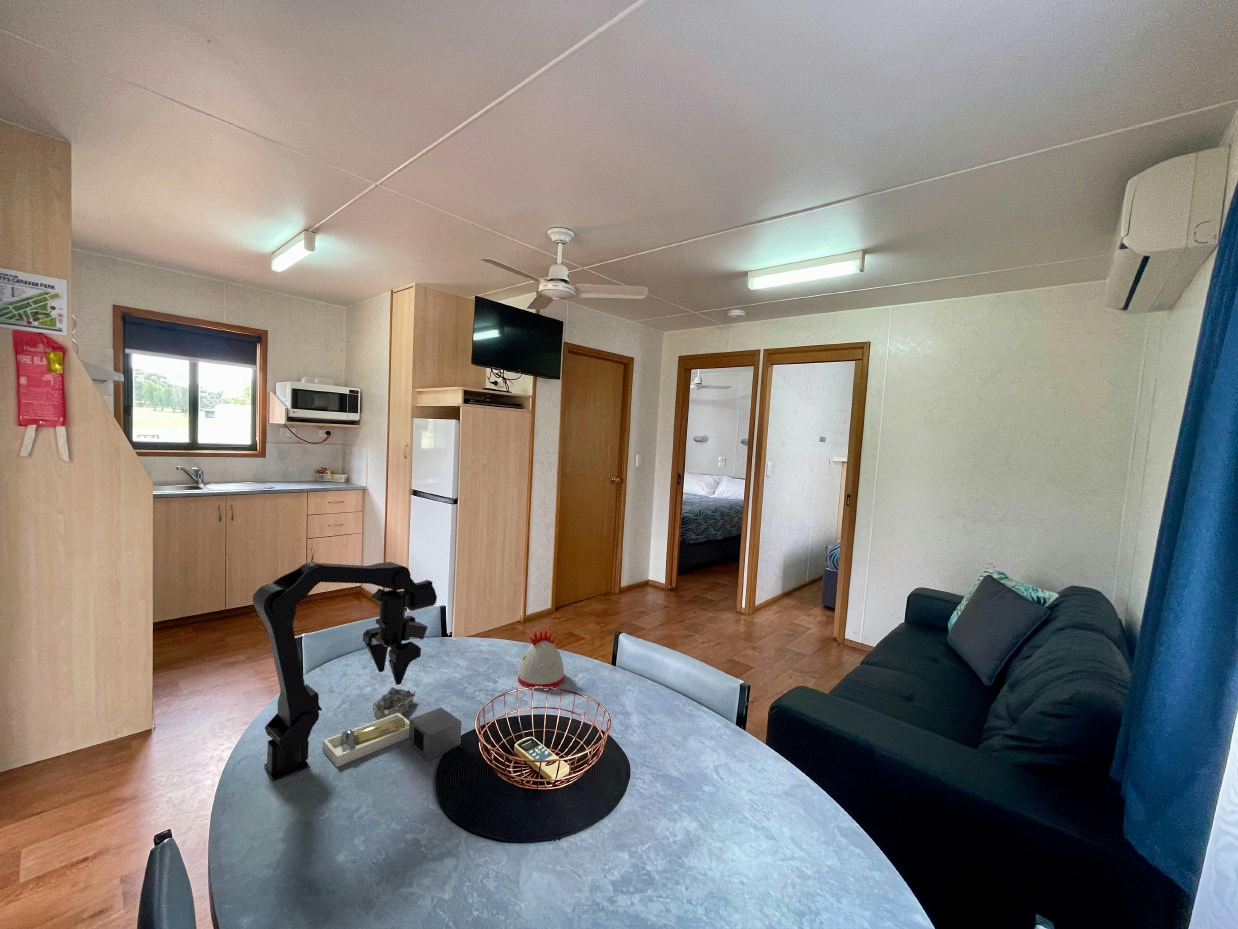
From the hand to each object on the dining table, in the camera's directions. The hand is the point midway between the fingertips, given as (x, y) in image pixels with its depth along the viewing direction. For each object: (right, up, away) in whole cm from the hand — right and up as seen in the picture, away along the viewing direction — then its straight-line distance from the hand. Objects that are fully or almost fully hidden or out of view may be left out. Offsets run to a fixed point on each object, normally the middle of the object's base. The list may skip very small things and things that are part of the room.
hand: (389, 677), depth 124 cm
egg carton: (-3, -12, +8) cm, 15 cm away
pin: (-1, -12, -6) cm, 13 cm away
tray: (-1, -12, -7) cm, 14 cm away
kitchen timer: (+33, -13, +30) cm, 46 cm away
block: (+13, -13, -6) cm, 20 cm away
